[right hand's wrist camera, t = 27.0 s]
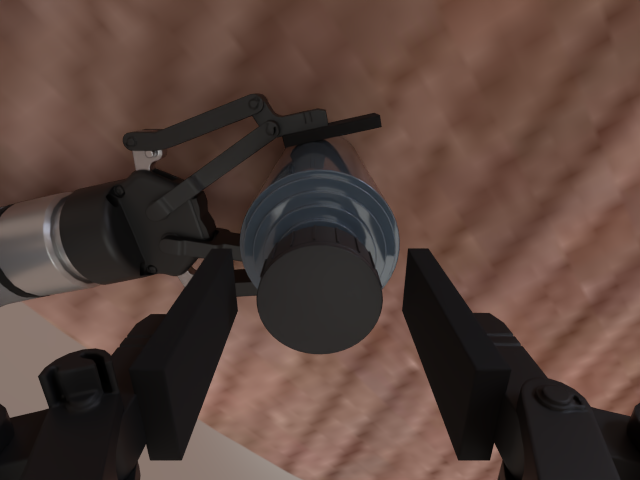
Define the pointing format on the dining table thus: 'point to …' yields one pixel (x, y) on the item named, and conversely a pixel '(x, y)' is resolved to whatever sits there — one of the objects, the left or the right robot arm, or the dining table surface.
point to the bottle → (319, 205)
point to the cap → (319, 291)
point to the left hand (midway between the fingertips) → (385, 177)
